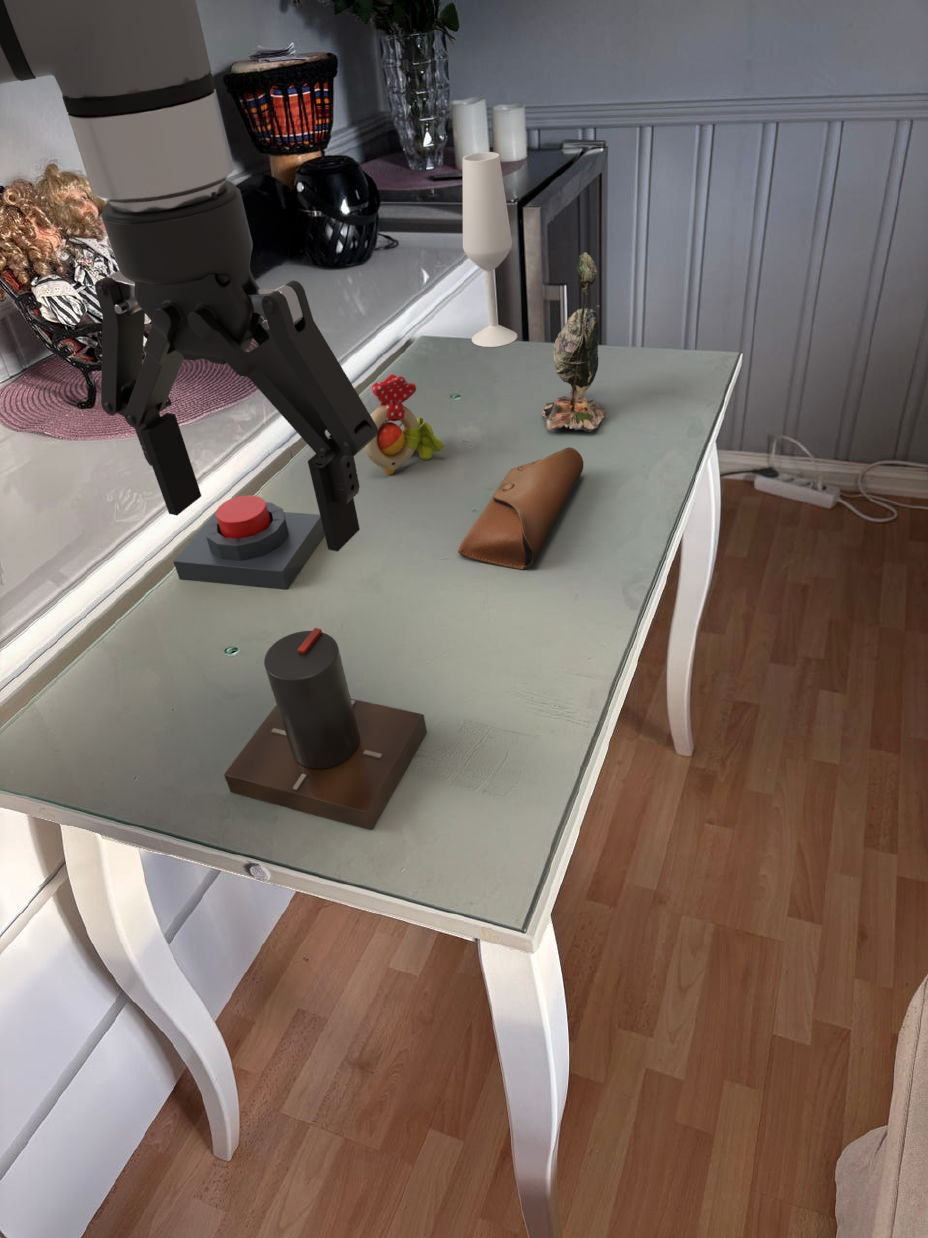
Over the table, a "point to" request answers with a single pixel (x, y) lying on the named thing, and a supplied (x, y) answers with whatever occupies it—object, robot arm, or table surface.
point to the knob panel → (336, 790)
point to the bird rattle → (398, 427)
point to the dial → (313, 698)
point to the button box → (252, 551)
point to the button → (243, 516)
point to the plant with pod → (577, 362)
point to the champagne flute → (486, 233)
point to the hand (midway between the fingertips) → (261, 521)
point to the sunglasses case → (523, 511)
